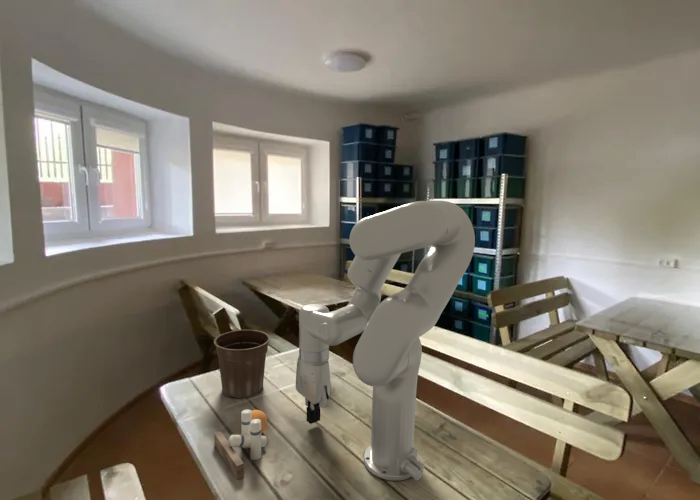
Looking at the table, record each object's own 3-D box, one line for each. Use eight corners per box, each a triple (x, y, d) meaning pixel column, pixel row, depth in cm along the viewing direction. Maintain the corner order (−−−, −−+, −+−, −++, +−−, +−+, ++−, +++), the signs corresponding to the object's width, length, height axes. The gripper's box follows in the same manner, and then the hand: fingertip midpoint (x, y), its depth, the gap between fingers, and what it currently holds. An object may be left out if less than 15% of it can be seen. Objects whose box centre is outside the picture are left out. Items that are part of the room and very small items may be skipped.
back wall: (244, 476, 84) (243, 463, 84) (237, 479, 84) (236, 466, 83) (220, 442, 95) (220, 431, 95) (214, 445, 95) (214, 433, 94)
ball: (257, 440, 94) (270, 415, 97) (235, 427, 95) (249, 403, 98) (259, 441, 100) (272, 418, 102) (239, 429, 100) (253, 407, 103)
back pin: (263, 457, 91) (262, 422, 89) (253, 461, 89) (252, 426, 88) (258, 451, 93) (258, 417, 91) (248, 455, 91) (248, 421, 90)
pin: (253, 446, 95) (253, 412, 93) (244, 449, 93) (243, 416, 92) (249, 440, 96) (249, 408, 95) (240, 444, 95) (239, 411, 94)
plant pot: (280, 390, 121) (280, 340, 119) (230, 409, 110) (229, 353, 108) (253, 372, 133) (253, 326, 131) (206, 387, 122) (205, 337, 120)
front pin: (268, 438, 94) (235, 437, 89) (264, 449, 93) (231, 448, 88) (263, 433, 96) (231, 432, 91) (260, 443, 95) (227, 443, 90)
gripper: (286, 347, 104) (286, 412, 106) (317, 367, 92) (316, 440, 95) (311, 341, 108) (310, 404, 111) (343, 360, 97) (342, 429, 99)
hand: (313, 420), depth 103 cm, fingers closed
